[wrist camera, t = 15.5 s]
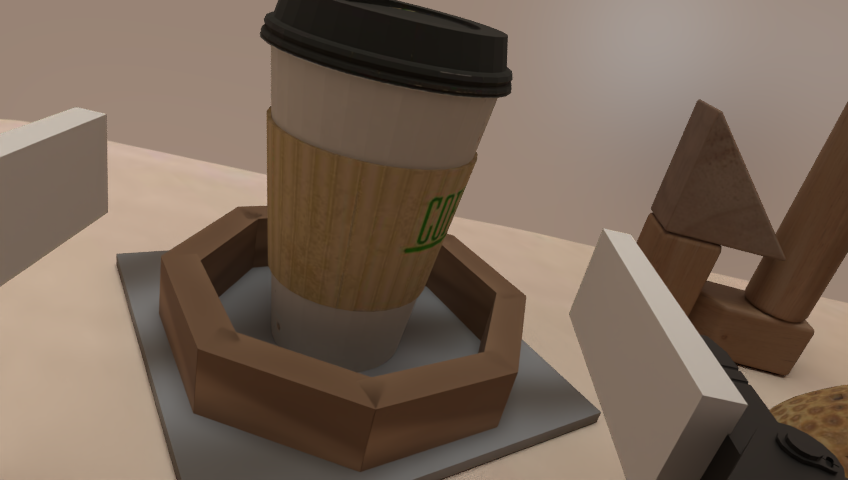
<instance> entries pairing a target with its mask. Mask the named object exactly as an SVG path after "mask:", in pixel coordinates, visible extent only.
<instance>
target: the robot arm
mask: <svg viewBox="0 0 848 480" xmlns="http://www.w3.org/2000/svg"><path fill="white" fill-rule="evenodd" d="M106 213H108V174H107V114H104V113H100V112H96V111H91V110H87V109H82V108H78V107H75V108H72V109H69V110H66V111H64V112H61V113H58V114H55V115H52V116H49V117H47V118H44V119H41V120H38V121H35V122H32V123H30V124H27V125H24V126H21V127H18V128H15V129H13V130H10V131H7V132H4V133H1V134H0V286H2V285H3V284H5V283H6V282H8V281H9V280H11V279H12V278H13V277H15V276H16V275H18V274H19V273H21V272H22V271H24V270H25V269H26V268H28V267H29V266H31V265H32V264H34V263H35V262H37V261H38V260H40V259H41V258H42V257H44V256H45V255H47V254H48V253H50V252H51V251H53V250H54V249H55V248H57V247H58V246H60V245H61V244H63V243H64V242H66V241H67V240H68V239H70V238H71V237H73V236H74V235H76V234H77V233H79V232H80V231H81V230H83V229H84V228H86V227H87V226H89V225H90V224H92V223H93V222H95V221H96V220H97V219H99V218H100V217H102V216H103V215H105V214H106ZM569 315H570V318H571V321H572V324H573V327H574V330H575V333H576V335H577V338H578V341H579V344H580V347H581V350H582V353H583V356H584V359H585V361H586V364H587V367H588V370H589V373H590V376H591V379H592V382H593V385H594V387H595V390H596V393H597V396H598V399H599V402H600V405H601V408H602V410H603V413H604V416H605V419H606V422H607V425H608V428H609V431H610V434H611V436H612V439H613V442H614V445H615V448H616V451H617V454H618V457H619V460H620V462H621V465H622V468H623V471H624V474H625V477H626V480H848V478H846V477H845V472H844V468H843V466H842V465H841V463H840V462H839V460H838V459H837V457H836V456H835V455H834V454H833V453H832V452H831V451H830V450H829V449H827V448H826V447H825V446H824V445H823V444H822V443H820V442H819V441H817V440H816V439H814V438H813V437H811V436H810V435H809V434H807V433H805V432H803V431H801V430H799V429H797V428H795V427H792V426H790V425H786V424H783V423H779V422H777V420H776V419H775V418H774V416H773V415H772V413H771V412H770V411H769V409H768V408H767V407H766V405H765V404H764V403H763V401H762V400H761V398H760V397H759V396H758V394H757V393H756V392H755V390H754V389H753V387H752V386H751V385H748V381H747V379H746V378H745V376H744V375H743V374H742V372H741V371H738V369H739V368H738V367H737V365H736V364H735V363H734V361H733V360H732V359H731V357H730V356H729V355H728V353H727V352H726V351H725V350H724V349H722V348H721V347H720V346H719V345H718V344H716V343H715V342H714V341H713V340H712V339H710V338H709V337H708V336H705V335H700V334H699V333H698V332H697V330H696V329H695V327H694V326H693V324H692V323H691V321H690V320H689V319H688V317H687V316H686V314H685V313H684V311H683V310H682V308H681V307H680V305H679V304H678V303H677V301H676V300H675V298H674V297H673V295H672V294H671V292H670V291H669V290H668V288H667V287H666V285H665V284H664V282H663V281H662V279H661V278H660V276H659V275H658V274H657V272H656V271H655V269H654V268H653V266H652V265H651V263H650V262H649V261H648V259H647V258H646V256H645V255H644V253H643V252H642V250H641V249H640V247H639V246H638V245H637V243H636V242H635V240H634V239H633V237H632V236H631V235H630V234H626V233H621V232H617V231H613V230H608V229H604V228H603V230H602V232H601V235H600V237H599V240H598V242H597V245H596V247H595V250H594V253H593V255H592V258H591V260H590V263H589V265H588V268H587V270H586V273H585V275H584V278H583V280H582V283H581V285H580V288H579V290H578V293H577V295H576V298H575V300H574V303H573V305H572V308H571V310H570V313H569Z"/></svg>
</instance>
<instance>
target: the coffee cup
mask: <svg viewBox="0 0 848 480" xmlns="http://www.w3.org/2000/svg"><path fill="white" fill-rule="evenodd" d="M264 22H265V24H264V25H263V26H262V28H261V32H260V37H261V38H262V39H263V40H264V41H266V42H267V43H268V44H270V45H271V106H270V107H269V109H268V110H267V214H268V266H269V268H270V270H271V329H272V335H273V338H274V340H275V342H276V343H277V345H278V346H279V347H282V348H285V349H288V350H291V351H294V352H297V353H300V354H303V355H306V356H309V357H312V358H315V359H318V360H321V361H324V362H327V363H330V364H333V365H336V366H339V367H342V368H345V369H348V370H351V371H354V372H362V371H367V370H370V369H373V368H376V367H378V366H380V365H382V364H384V363H385V362H387V361H388V360H389V359H390V358H391V357H392V356H393V354H394V353H395V351H396V349H397V347H398V344H399V342H400V340H401V337H402V335H403V332H404V330H405V327H406V325H407V322H408V320H409V317H410V315H411V312H412V310H413V307H414V305H415V302H416V300H417V298H418V297H419V296H420V294H421V293H422V291H423V290H424V287H425V285H426V283H427V280H428V278H429V275H430V273H431V270H432V268H433V265H434V263H435V261H436V258H437V256H438V253H439V251H440V248H441V246H442V243H443V241H444V239H445V236H446V234H447V231H448V229H449V226H450V224H451V222H452V219H453V217H454V214H455V212H456V209H457V207H458V204H459V202H460V200H461V197H462V195H463V192H464V190H465V187H466V185H467V182H468V180H469V178H470V175H471V173H472V170H473V168H474V165H475V163H476V161H477V152H476V150H477V148H478V145H479V143H480V140H481V138H482V135H483V133H484V131H485V128H486V126H487V123H488V121H489V118H490V116H491V113H492V111H493V108H494V106H495V103H496V101H497V98H499V97H504V96H507V95H509V94H510V93H511V80H512V71H511V70H510V69H509V68H507V42H508V35H507V34H505V33H503V32H501V31H499V30H497V29H494V28H491V27H489V26H486V25H483V24H480V23H476V22H474V21H471V20H467V19H464V18H461V17H457V16H453V15H450V14H447V13H443V12H440V11H436V10H432V9H428V8H425V7H421V6H417V5H413V4H409V3H405V2H401V1H397V0H278V3H277V5H276V8H275V11H274V12H271V13H268V14H266V16H265V18H264Z"/></svg>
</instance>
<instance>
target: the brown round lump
mask: <svg viewBox="0 0 848 480" xmlns="http://www.w3.org/2000/svg"><path fill="white" fill-rule="evenodd" d="M769 411H770V412H771V413H772V415H773V416H774V418H775V419H776V420H777V422H779V423H783V424H786V425H790V426H792V427H795V428H797V429H799V430H801V431H803V432H805V433H807V434H809V435H810V436H811V437H813V438H814V439H816V440H817V441H819V442H820V443H822V444H823V445H824V446H825V447H826V448H827V449H829V450H830V451H831V452H832V453H833V454H834V455H835V456H836V457H837V459H838V460H839V462H840V463H841V465H842V466H843V468H844V472H845V477H846V478H848V385H841V386H836V387H831V388H826V389H821V390H817V391H813V392H809V393H805V394H802V395H799V396H795V397H793V398H791V399H788V400H786V401H784V402H782V403H780V404H778V405H776V406H775V407H773V408H772V409H770V410H769Z"/></svg>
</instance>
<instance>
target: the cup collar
mask: <svg viewBox="0 0 848 480" xmlns="http://www.w3.org/2000/svg"><path fill="white" fill-rule="evenodd" d="M117 267H118V271H119V274H120V278H121V282H122V285H123V289H124V292H125V296H126V299H127V303H128V307H129V310H130V314H131V317H132V321H133V324H134V328H135V331H136V335H137V339H138V342H139V346H140V349H141V353H142V356H143V360H144V364H145V367H146V371H147V374H148V378H149V381H150V385H151V388H152V392H153V396H154V399H155V403H156V406H157V410H158V413H159V417H160V420H161V424H162V428H163V431H164V435H165V438H166V442H167V445H168V449H169V453H170V456H171V460H172V463H173V467H174V470H175V474H176V477H177V480H441V479H443V478H446V477H449V476H451V475H454V474H457V473H460V472H462V471H465V470H468V469H470V468H473V467H476V466H478V465H481V464H484V463H487V462H489V461H492V460H495V459H497V458H500V457H503V456H505V455H508V454H511V453H514V452H516V451H519V450H522V449H524V448H527V447H530V446H533V445H535V444H538V443H541V442H543V441H546V440H549V439H551V438H554V437H557V436H560V435H562V434H565V433H568V432H570V431H573V430H576V429H578V428H581V427H584V426H587V425H589V424H592V423H595V422H597V420H598V418H599V416H600V413H601V412H600V411H599V410H598V409H597V408H596V407H595V406H594V405H593V404H591V403H590V402H589V401H588V400H587V399H586V398H585V397H584V396H583V395H582V394H581V393H580V392H578V391H577V390H576V389H575V388H574V387H573V386H572V385H571V384H570V383H569V382H568V381H566V380H565V379H564V378H563V377H562V376H561V375H560V374H559V373H558V372H557V371H556V370H555V369H553V368H552V367H551V366H550V365H549V364H548V363H547V362H546V361H545V360H544V359H543V358H542V357H540V356H539V355H538V354H537V353H536V352H535V351H534V350H533V349H532V348H531V347H530V346H529V345H527V344H526V343H525V342H524V341H523V340H522V331H523V322H524V312H525V303H526V295H524V294H523V293H522V292H521V291H520V290H518V289H517V288H516V287H515V286H514V285H512V284H511V283H510V282H509V281H507V280H506V279H505V278H504V277H503V276H501V275H500V274H499V273H498V272H497V271H495V270H494V269H493V268H492V267H491V266H489V265H488V264H487V263H486V262H485V261H483V260H482V259H481V258H480V257H479V256H477V255H476V254H475V253H474V252H473V251H471V250H470V249H469V248H468V247H467V246H465V245H464V244H463V243H462V242H461V241H459V240H458V239H457V238H456V237H455V236H453V235H450V234H446V236H445V239H444V241H443V243H442V246H441V248H440V251H439V253H438V256H437V258H436V261H435V263H434V265H433V268H432V270H431V273H430V275H429V278H428V280H427V283H426V285H425V287H424V290H423V291H422V293H421V294H420V296H419V297H418V298H417V300H416V302H415V305H414V307H413V310H412V312H411V315H410V317H409V320H408V322H407V325H406V327H405V330H404V332H403V335H402V337H401V340H400V342H399V344H398V347H397V349H396V351H395V353H394V354H393V356H392V357H391V358H390V359H389V360H388V361H387V362H385V363H384V364H382V365H380V366H378V367H376V368H373V369H370V370H367V371H362V372H354V371H351V370H348V369H345V368H342V367H339V366H336V365H333V364H330V363H327V362H324V361H321V360H318V359H315V358H312V357H309V356H306V355H303V354H300V353H297V352H294V351H291V350H288V349H285V348H282V347H279V346H278V345H277V343H276V342H275V340H274V338H273V335H272V329H271V270H270V268H269V266H268V214H267V206H247V207H237V208H235V209H234V210H232V211H231V212H229V213H228V214H226V215H224V216H223V217H221V218H220V219H218V220H217V221H215V222H213V223H212V224H210V225H209V226H207V227H206V228H204V229H202V230H201V231H199V232H198V233H196V234H195V235H193V236H192V237H190V238H188V239H187V240H185V241H184V242H182V243H181V244H179V245H177V246H176V247H174V248H173V249H171V250H169V251H154V252H138V253H123V254H117Z"/></svg>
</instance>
